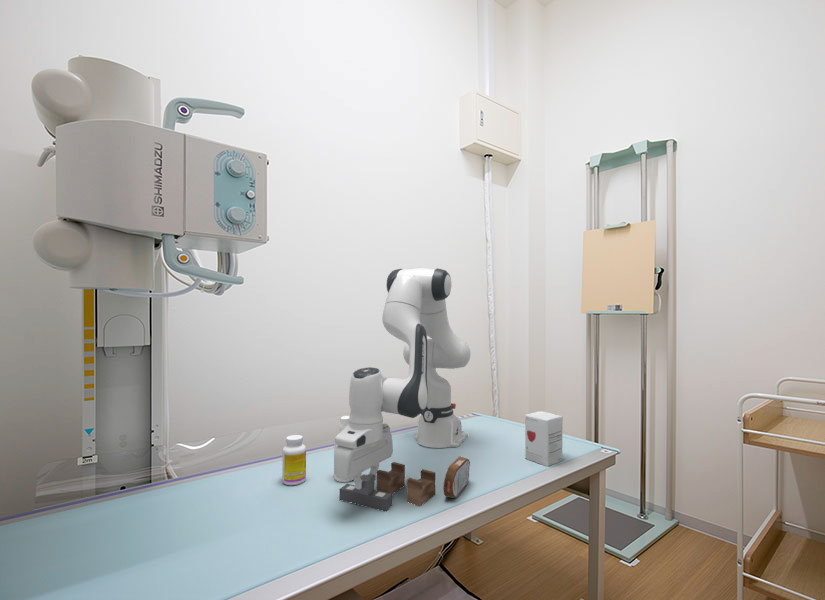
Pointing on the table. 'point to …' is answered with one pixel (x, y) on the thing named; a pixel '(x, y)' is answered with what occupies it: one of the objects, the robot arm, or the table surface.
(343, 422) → the spray bottle
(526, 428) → the supplement box
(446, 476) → the tin
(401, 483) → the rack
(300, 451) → the supplement bottle
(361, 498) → the power strip
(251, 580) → the table surface
